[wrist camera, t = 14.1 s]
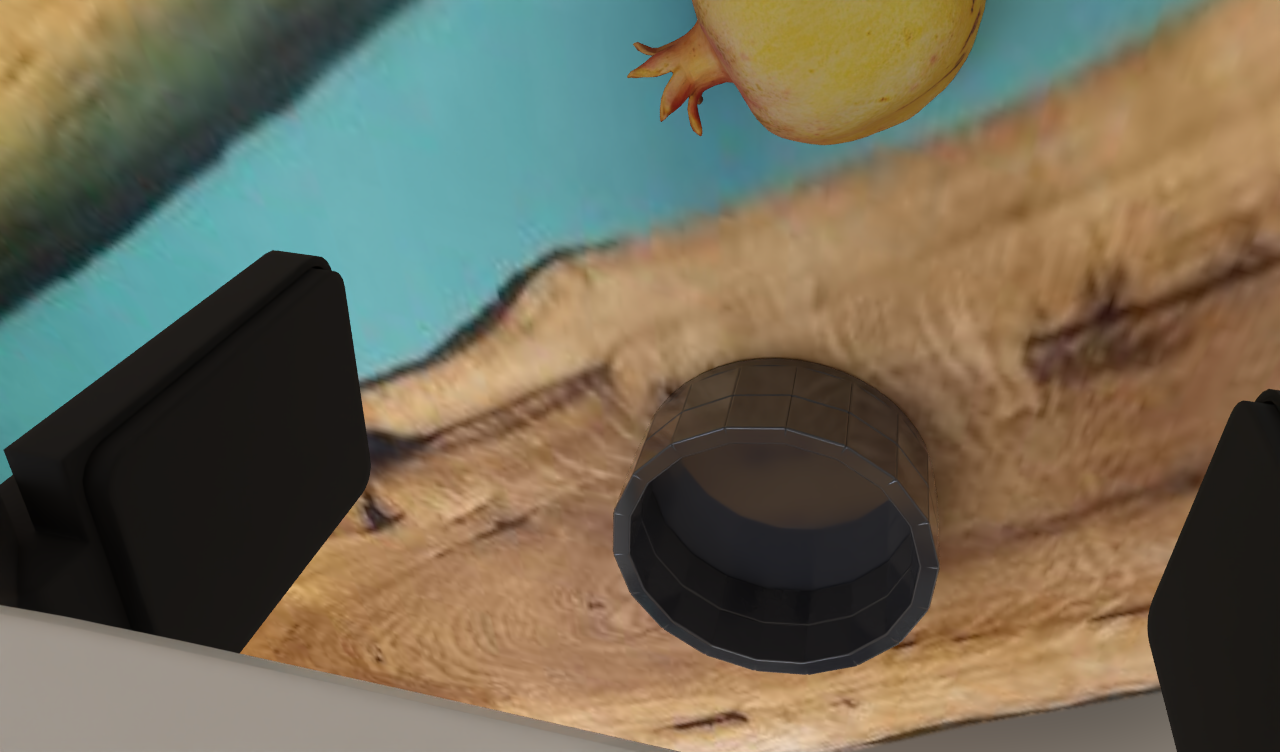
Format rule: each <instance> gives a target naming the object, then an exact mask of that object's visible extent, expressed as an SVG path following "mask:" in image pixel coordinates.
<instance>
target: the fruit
mask: <svg viewBox="0 0 1280 752" xmlns="http://www.w3.org/2000/svg"><path fill="white" fill-rule="evenodd" d="M692 2H693V6H694V9H695V13H696V16H697V19H698V20H697V22H696V24H695V25H694V27H693V28H692V29H691V30H690V31H689V32H688V33H687V34H685V35H684V36H682V37H680V38H679V39H677V40H675V41H673V42H671V43H669V44H666V45H664V46H662V47H659V48H651V47H648V46H646V45H643V44H641V43H639V42H636V43H634V44H633V45H634V46H635V48H636V49H637V50H638V51H640V52H642V53H644V54H646V55H651V56H652V57H651V58H649V59H648V60H647V61H646V62H645V63H643V64H642V65H641V66H639V67H638V68H636V69H634V70H633V71H631V72H630V73H629V75H628V76H627V78H641V77H657V76H661V75H664V74H666V73H669V72H672V73H673V75H672V77H671V79H670V80H669V82H668V84H667V85H666V87H665V89H664V92H663V95H662V98H661V105H660V121H661V122H662V121H663V120H664V119H666V118H667V117H668V115H670V114H671V113H673V112H674V111H675V110H676V109H678V108H679V107H680V106H681V105H682V104H683V103H684V101H685V100H686V99H687V98H688V97H689V102H688V115H689V120H690V125H691V127H692V129H693V131H694V132H695V133H697V134H698V135H699V136H702V126H701V121H700V118H699V114H698V108H697V104H699V105H700V104H701V103H702V101H703V97H702V93H703V92H704V91H705V90H707V89H709V88H711V87H713V86H715V85H718V84H722V83H725V82H732V83H734V84H735V85H736V87H737V88H738V90H739V92H740V93H741V95H742V97H743V98H744V100H745V101H746V103H747V105H748V106H749V108H750V110H751V111H752V113H753V114H754V116H755V117H756V118H757V120H758V121H759V122H760V123H761V124H762V125H763V126H764V127H765V128H766V129H767V130H768V131H770V132H771V133H773V134H775V135H777V136H779V137H782V138H785V139H789V140H793V141H797V142H802V143H809V144H818V145H831V144H839V143H844V142H850V141H854V140H857V139H861V138H864V137H867V136H869V135H872V134H874V133H877V132H880V131H882V130H885V129H888V128H890V127H892V126H895V125H897V124H899V123H902V122H904V121H906V120H908V119H910V118H911V117H912V116H914V115H915V114H917V113H918V112H919V111H920V110H921V109H922V108H924V107H925V106H926V105H927V104H928V103H929V102H930V101H931V100H933V99H934V98H935V97H936V96H937V95H938V94H939V93H941V92H942V91H943V90H944V89H945V88H946V87H947V86H948V84H949V83H950V82H951V81H952V80H953V79H954V77H955V76H956V74H957V73H958V71H959V70H960V68H961V67H962V65H963V64H964V62H965V61H966V59H967V57H968V55H969V53H970V51H971V49H972V46H973V44H974V41H975V38H976V35H977V32H978V28H979V25H980V22H981V19H982V16H983V12H984V9H985V2H986V0H692Z"/></svg>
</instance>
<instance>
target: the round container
mask: <svg viewBox="0 0 1280 752" xmlns="http://www.w3.org/2000/svg"><path fill="white" fill-rule="evenodd" d="M938 528H939V527H938V498H937V492H936V487H935V482H934V473H933V468H932V463H931V459H930V456H929V454H928V451H927V448H926V446H925V444H924V442H923V440H922V438H921V437H920V435H919V433H918V431H917V429H916V428H915V427H914V426H913V424H912V423H911V422H910V420H909V419H908V418H907V416H906V415H905V414H904V413H903V412H902V411H901V410H900V409H899V408H898V407H897V406H896V405H895V404H894V403H893V402H892V401H891V400H889V399H888V398H887V397H885V396H884V395H883V394H881V393H880V392H879V391H878V390H876V389H875V388H873V387H871V386H870V385H868V384H866V383H865V382H863V381H861V380H859V379H858V378H855V377H853V376H851V375H849V374H846V373H844V372H842V371H840V370H837V369H833V368H830V367H827V366H824V365H821V364H816V363H811V362H806V361H801V360H792V359H780V358H772V359H754V360H747V361H740V362H735V363H731V364H728V365H724V366H720V367H717V368H715V369H713V370H710V371H708V372H705V373H703V374H701V375H699V376H697V377H696V378H694V379H692V380H690V381H689V382H687V383H685V384H684V385H683V386H681V387H680V388H679V389H678V390H676V391H675V392H674V393H673V394H672V395H671V396H670V397H669V398H668V399H667V400H666V401H665V402H664V403H663V404H662V405H661V406H660V408H659V409H658V411H657V412H656V414H655V415H654V417H653V418H652V420H651V422H650V424H649V426H648V428H647V430H646V433H645V435H644V437H643V439H642V441H641V443H640V445H639V447H638V449H637V452H636V455H635V457H634V460H633V462H632V465H631V467H630V470H629V473H628V475H627V478H626V480H625V483H624V485H623V488H622V491H621V493H620V496H619V498H618V501H617V503H616V506H615V509H614V512H613V553H614V557H615V559H616V561H617V564H618V566H619V568H620V571H621V573H622V575H623V578H624V580H625V582H626V585H627V587H628V589H629V592H630V593H631V595H632V596H633V597H634V598H635V599H636V600H637V602H638V603H639V604H640V605H641V606H642V607H643V608H644V609H645V610H646V611H647V612H648V614H649V615H650V616H651V617H652V618H653V619H654V620H655V621H656V622H657V623H658V624H659V626H660V627H661V628H663V629H664V630H666V631H667V632H669V633H670V634H672V635H674V636H675V637H677V638H679V639H680V640H682V641H683V642H685V643H687V644H688V645H690V646H692V647H693V648H695V649H696V650H698V651H700V652H701V653H703V654H706V655H707V656H710V657H713V658H716V659H719V660H723V661H726V662H729V663H732V664H735V665H738V666H741V667H745V668H748V669H751V670H756V671H763V672H777V673H790V674H804V675H806V674H808V675H810V674H815V673H821V672H826V671H832V670H837V669H843V668H848V667H854V666H857V665H860V664H861V663H863V662H865V661H867V660H869V659H871V658H873V657H875V656H877V655H879V654H881V653H883V652H884V651H886V650H888V649H890V648H892V647H894V646H896V645H898V644H899V643H900V642H901V641H902V640H903V639H904V638H905V637H906V636H907V635H908V633H909V632H910V631H911V630H912V629H913V628H914V626H915V625H916V624H917V623H918V622H919V621H920V619H921V618H922V617H923V616H924V615H925V614H926V612H927V611H928V609H929V608H930V604H931V600H932V596H933V593H934V589H935V585H936V581H937V577H938V573H939V569H940V559H939V530H938Z"/></svg>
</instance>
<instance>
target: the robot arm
mask: <svg viewBox="0 0 1280 752" xmlns="http://www.w3.org/2000/svg"><path fill="white" fill-rule="evenodd" d="M4 452H5V455H6V457H7V460H8V463H9V465H10V468H11V470H12V473H13V475H12V476H11V477H9V478H8V479H7V480H6V481H4V482H3V483H2V484H1V485H0V752H679V751H675V750H670V749H666V748H661V747H657V746H653V745H648V744H644V743H639V742H635V741H631V740H626V739H622V738H617V737H613V736H608V735H604V734H600V733H595V732H591V731H586V730H582V729H577V728H573V727H568V726H564V725H560V724H555V723H551V722H546V721H542V720H537V719H533V718H528V717H524V716H519V715H515V714H511V713H506V712H502V711H497V710H493V709H488V708H484V707H479V706H475V705H470V704H466V703H462V702H457V701H453V700H448V699H444V698H439V697H435V696H430V695H426V694H421V693H417V692H412V691H408V690H403V689H399V688H394V687H389V686H385V685H380V684H376V683H371V682H367V681H362V680H358V679H353V678H348V677H344V676H339V675H335V674H330V673H326V672H321V671H316V670H312V669H307V668H303V667H298V666H294V665H289V664H285V663H280V662H275V661H271V660H266V659H262V658H257V657H253V656H248V655H244V654H239V653H240V652H241V651H242V650H243V648H244V647H245V646H246V644H247V643H248V642H249V640H250V639H251V638H252V637H253V635H254V634H255V633H256V631H257V630H258V629H259V627H260V626H261V625H262V623H263V622H264V621H265V620H266V618H267V617H268V616H269V614H270V613H271V612H272V610H273V609H274V608H275V607H276V605H277V604H278V603H279V601H280V600H281V599H282V597H283V596H284V595H285V594H286V592H287V591H288V590H289V588H290V587H291V586H292V584H293V583H294V582H295V580H296V579H297V578H298V577H299V575H300V574H301V573H302V571H303V570H304V569H305V567H306V566H307V565H308V564H309V562H310V561H311V560H312V558H313V557H314V556H315V554H316V553H317V552H318V551H319V549H320V548H321V547H322V545H323V544H324V543H325V541H326V540H327V539H328V537H329V536H330V535H331V534H332V532H333V531H334V530H335V528H336V527H337V526H338V524H339V523H340V522H341V521H342V519H343V518H344V517H345V515H346V514H347V513H348V511H349V510H350V509H351V508H352V506H353V505H354V504H355V502H356V501H357V500H358V498H359V497H360V496H361V495H362V493H363V491H364V490H365V488H366V485H367V483H368V480H369V476H370V468H371V463H370V454H369V447H368V441H367V434H366V427H365V420H364V414H363V407H362V400H361V393H360V387H359V380H358V373H357V366H356V359H355V353H354V346H353V339H352V332H351V326H350V319H349V312H348V305H347V299H346V292H345V286H344V282H343V279H342V277H341V275H340V274H339V273H337V272H335V271H332V270H331V267H330V266H329V264H328V262H327V261H326V260H325V259H324V258H322V257H319V256H312V255H304V254H297V253H290V252H283V251H274V250H273V251H270V252H268V253H266V254H265V255H263V256H262V257H261V258H259V259H258V260H257V261H255V262H254V263H253V264H251V265H250V266H249V267H247V268H246V269H245V270H243V271H242V272H241V273H239V274H238V275H237V276H235V277H234V278H233V279H231V280H230V281H229V282H227V283H226V284H225V285H223V286H222V287H221V288H219V289H218V290H217V291H215V292H214V293H213V294H211V295H210V296H209V297H207V298H206V299H205V300H203V301H202V302H201V303H199V304H198V305H197V306H195V307H194V308H193V309H191V310H190V311H189V312H187V313H186V314H185V315H183V316H182V317H180V318H179V319H178V320H176V321H175V322H174V323H172V324H171V325H170V326H168V327H167V328H166V329H164V330H163V331H162V332H160V333H159V334H158V335H156V336H155V337H154V338H152V339H151V340H150V341H148V342H147V343H146V344H144V345H143V346H142V347H140V348H139V349H138V350H136V351H135V352H134V353H132V354H131V355H130V356H128V357H127V358H126V359H124V360H123V361H122V362H120V363H119V364H118V365H116V366H115V367H114V368H112V369H111V370H110V371H108V372H107V373H106V374H104V375H103V376H102V377H100V378H99V379H98V380H96V381H95V382H94V383H92V384H91V385H90V386H88V387H87V388H86V389H84V390H83V391H82V392H80V393H79V394H78V395H76V396H75V397H74V398H72V399H71V400H70V401H68V402H67V403H66V404H64V405H63V406H62V407H60V408H59V409H58V410H56V411H55V412H53V413H52V414H51V415H49V416H48V417H47V418H45V419H44V420H43V421H41V422H40V423H39V424H37V425H36V426H35V427H33V428H32V429H31V430H29V431H28V432H27V433H25V434H24V435H23V436H21V437H20V438H19V439H17V440H16V441H15V442H13V443H12V444H11V445H9V446H8V447H7V448H5V449H4ZM1148 638H1149V643H1150V647H1151V651H1152V655H1153V659H1154V663H1155V667H1156V671H1157V675H1158V679H1159V683H1160V686H1161V690H1162V694H1163V698H1164V702H1165V706H1166V710H1167V714H1168V717H1169V722H1170V726H1171V730H1172V733H1173V737H1174V741H1175V745H1176V749H1177V752H1280V391H1279V390H1272V389H1268V390H1266V391H1264V392H1262V393H1261V395H1260V396H1259V397H1258V398H1257V399H1256V401H1255V402H1250V401H1241V402H1239V403H1238V404H1237V405H1236V406H1235V407H1234V409H1233V411H1232V413H1231V415H1230V417H1229V419H1228V422H1227V424H1226V426H1225V429H1224V431H1223V434H1222V436H1221V438H1220V441H1219V443H1218V445H1217V448H1216V450H1215V453H1214V455H1213V457H1212V460H1211V462H1210V464H1209V467H1208V469H1207V472H1206V474H1205V476H1204V479H1203V481H1202V484H1201V486H1200V488H1199V491H1198V493H1197V495H1196V498H1195V500H1194V503H1193V505H1192V507H1191V510H1190V512H1189V514H1188V517H1187V519H1186V522H1185V524H1184V526H1183V529H1182V531H1181V533H1180V536H1179V538H1178V541H1177V543H1176V545H1175V548H1174V550H1173V552H1172V555H1171V557H1170V560H1169V562H1168V564H1167V567H1166V569H1165V571H1164V574H1163V576H1162V579H1161V581H1160V583H1159V586H1158V588H1157V590H1156V593H1155V595H1154V598H1153V600H1152V603H1151V606H1150V610H1149V615H1148Z"/></svg>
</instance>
